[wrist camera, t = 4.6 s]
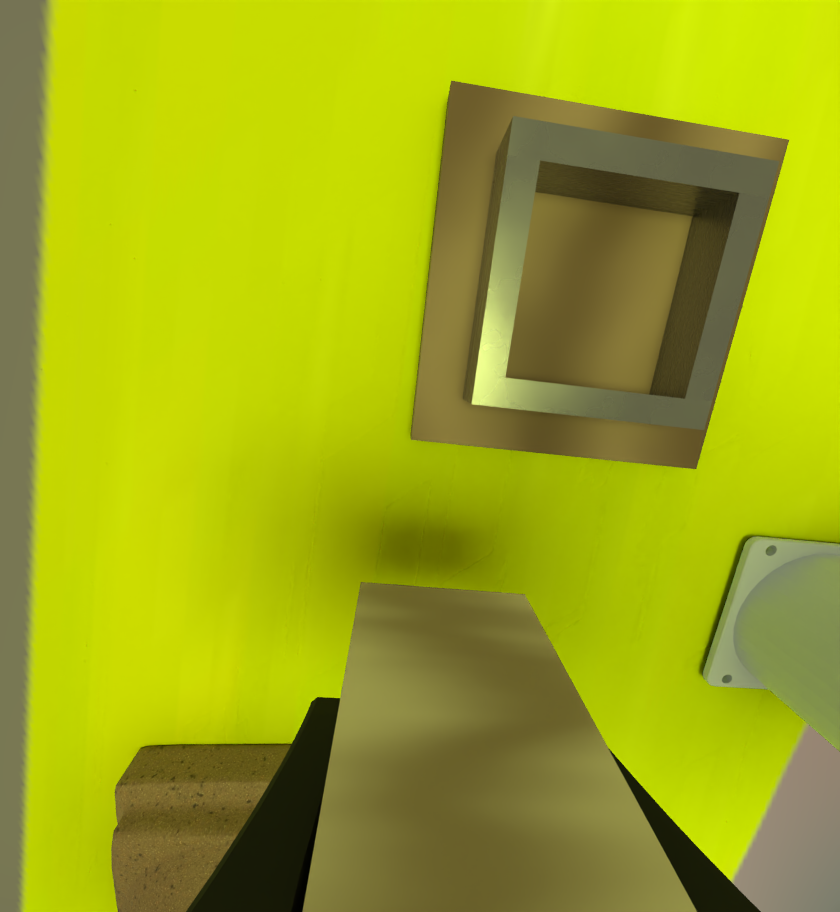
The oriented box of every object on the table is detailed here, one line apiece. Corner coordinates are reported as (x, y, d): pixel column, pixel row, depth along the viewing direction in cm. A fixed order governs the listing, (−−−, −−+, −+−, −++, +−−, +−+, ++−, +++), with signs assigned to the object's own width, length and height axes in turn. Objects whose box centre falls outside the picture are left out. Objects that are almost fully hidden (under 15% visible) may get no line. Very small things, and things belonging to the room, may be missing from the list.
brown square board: (763, 154, 15) (789, 140, 14) (679, 463, 17) (696, 469, 16) (447, 100, 14) (451, 81, 13) (410, 435, 16) (411, 439, 15)
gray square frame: (726, 189, 14) (779, 161, 12) (666, 421, 16) (703, 430, 14) (496, 152, 13) (512, 116, 11) (462, 399, 15) (471, 404, 13)
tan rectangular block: (524, 594, 10) (882, 1252, 3) (498, 726, 11) (707, 1489, 4) (361, 582, 10) (234, 1291, 2) (348, 719, 11) (230, 1540, 3)
